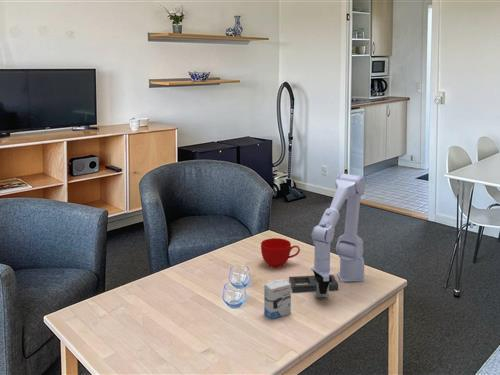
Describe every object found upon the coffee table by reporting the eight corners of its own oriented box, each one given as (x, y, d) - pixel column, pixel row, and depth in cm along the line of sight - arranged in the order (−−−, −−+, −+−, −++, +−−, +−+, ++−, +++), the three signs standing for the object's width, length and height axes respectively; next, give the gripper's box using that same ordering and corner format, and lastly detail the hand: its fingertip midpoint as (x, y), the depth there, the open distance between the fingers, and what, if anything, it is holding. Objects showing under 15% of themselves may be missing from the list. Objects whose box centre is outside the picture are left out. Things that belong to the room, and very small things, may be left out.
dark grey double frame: (332, 280, 205) (332, 274, 204) (338, 290, 196) (338, 284, 196) (288, 282, 204) (289, 276, 203) (292, 292, 195) (292, 286, 194)
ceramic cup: (300, 270, 214) (301, 248, 211) (261, 271, 214) (261, 249, 212) (298, 258, 227) (298, 237, 224) (260, 258, 227) (260, 238, 224)
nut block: (325, 291, 193) (326, 276, 191) (328, 296, 188) (329, 281, 187) (314, 291, 192) (314, 277, 191) (316, 297, 188) (317, 282, 186)
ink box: (270, 319, 175) (270, 289, 172) (263, 313, 180) (263, 283, 177) (291, 313, 179) (291, 283, 176) (284, 307, 183) (284, 278, 180)
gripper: (307, 250, 193) (307, 282, 196) (315, 265, 179) (315, 300, 183) (325, 249, 193) (325, 281, 197) (335, 264, 179) (334, 299, 183)
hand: (321, 290), depth 190 cm, fingers closed on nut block, 4 cm apart
